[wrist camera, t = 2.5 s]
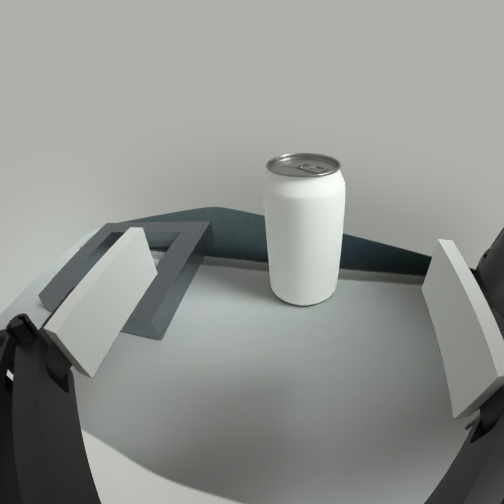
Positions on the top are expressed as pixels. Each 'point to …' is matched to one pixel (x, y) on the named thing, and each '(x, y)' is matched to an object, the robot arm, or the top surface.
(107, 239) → the jig
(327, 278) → the can
